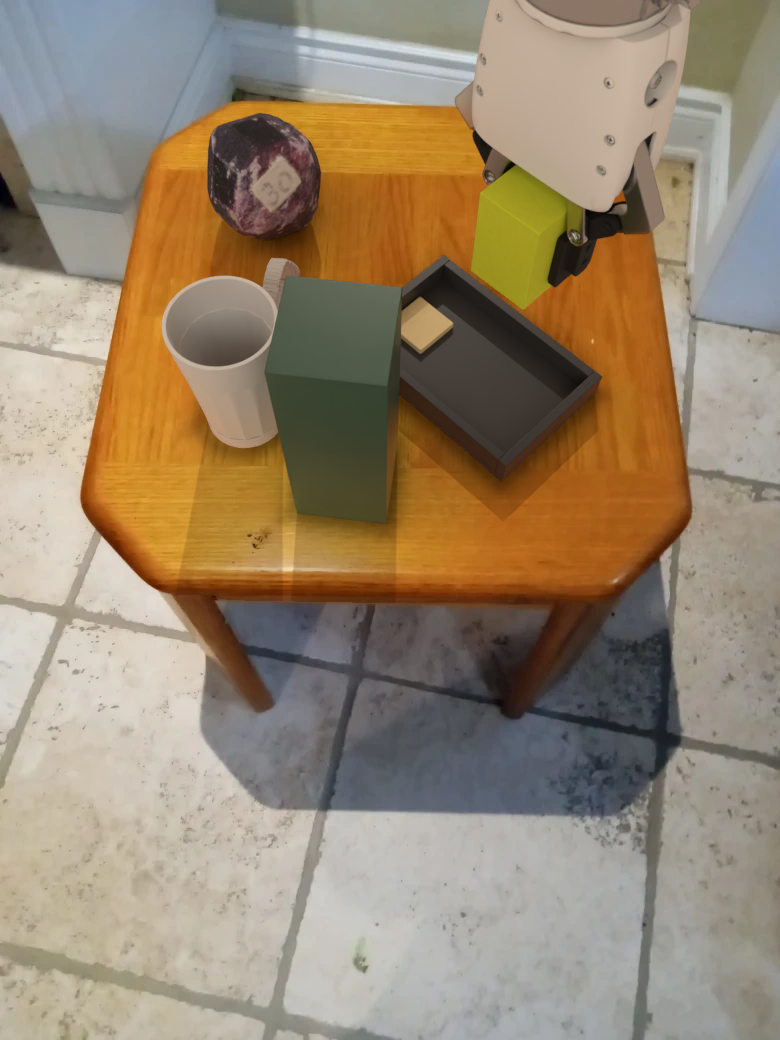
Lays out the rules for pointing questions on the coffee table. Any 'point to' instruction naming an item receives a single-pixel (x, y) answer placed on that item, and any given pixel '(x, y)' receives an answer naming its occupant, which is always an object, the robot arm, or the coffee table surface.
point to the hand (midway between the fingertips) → (535, 248)
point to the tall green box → (337, 394)
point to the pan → (489, 372)
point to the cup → (225, 354)
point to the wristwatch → (278, 277)
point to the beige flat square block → (423, 325)
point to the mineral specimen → (263, 176)
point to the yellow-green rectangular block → (518, 235)
